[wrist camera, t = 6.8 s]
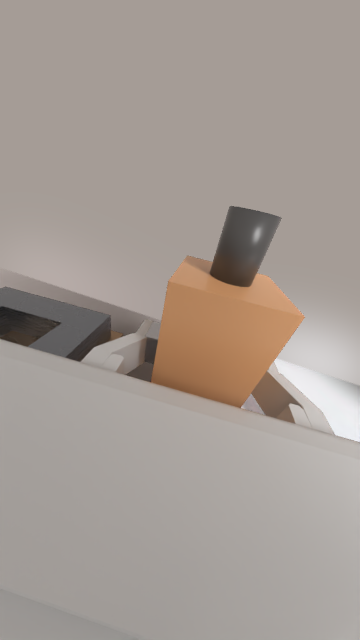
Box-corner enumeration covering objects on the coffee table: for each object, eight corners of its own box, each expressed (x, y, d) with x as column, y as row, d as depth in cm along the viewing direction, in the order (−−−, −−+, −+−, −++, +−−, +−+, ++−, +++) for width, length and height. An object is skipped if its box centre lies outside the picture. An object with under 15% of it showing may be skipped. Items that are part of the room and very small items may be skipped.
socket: (123, 337, 21) (123, 313, 19) (0, 497, 9) (-32, 474, 7) (16, 308, 21) (6, 281, 19) (-231, 420, 10) (-316, 380, 8)
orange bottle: (204, 403, 15) (293, 225, 8) (201, 462, 12) (365, 232, 4) (158, 390, 16) (198, 202, 8) (140, 443, 12) (184, 189, 4)
